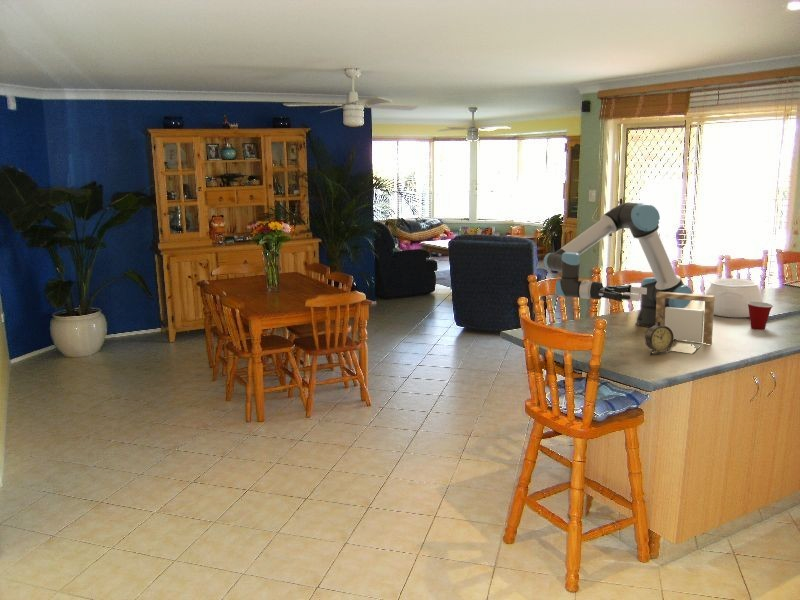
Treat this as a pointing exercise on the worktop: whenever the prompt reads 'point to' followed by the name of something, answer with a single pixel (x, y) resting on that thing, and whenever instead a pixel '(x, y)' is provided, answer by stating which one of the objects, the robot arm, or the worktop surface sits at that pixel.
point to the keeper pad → (695, 345)
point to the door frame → (697, 297)
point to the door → (685, 323)
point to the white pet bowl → (734, 296)
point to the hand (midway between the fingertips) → (643, 294)
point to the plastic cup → (759, 314)
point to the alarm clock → (659, 337)
